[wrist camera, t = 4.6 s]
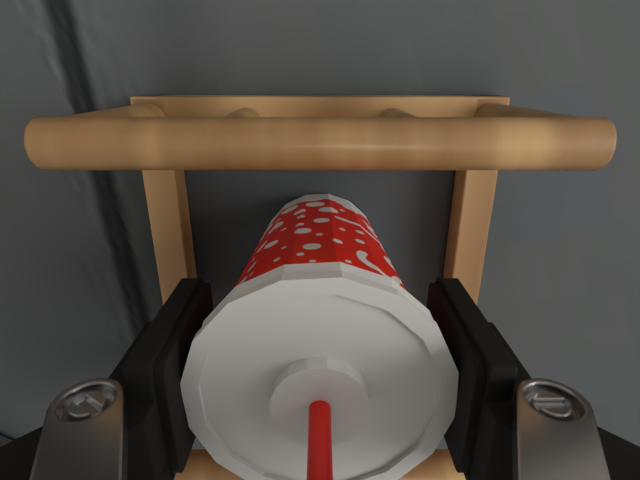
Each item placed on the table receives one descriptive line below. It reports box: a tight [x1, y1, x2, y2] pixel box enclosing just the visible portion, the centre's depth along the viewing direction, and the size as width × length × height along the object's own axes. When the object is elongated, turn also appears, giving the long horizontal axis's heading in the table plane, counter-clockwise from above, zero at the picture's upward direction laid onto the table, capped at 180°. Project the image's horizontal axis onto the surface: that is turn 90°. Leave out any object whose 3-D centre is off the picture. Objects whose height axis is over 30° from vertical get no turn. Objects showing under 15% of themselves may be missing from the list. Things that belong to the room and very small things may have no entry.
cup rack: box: [23, 95, 617, 480], centre depth 14 cm, size 13×12×7 cm
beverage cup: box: [180, 194, 459, 480], centre depth 11 cm, size 6×6×14 cm
